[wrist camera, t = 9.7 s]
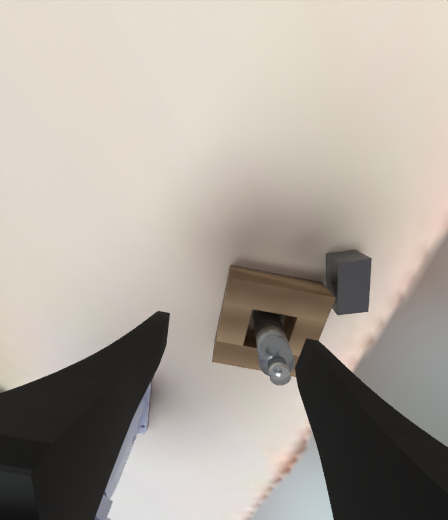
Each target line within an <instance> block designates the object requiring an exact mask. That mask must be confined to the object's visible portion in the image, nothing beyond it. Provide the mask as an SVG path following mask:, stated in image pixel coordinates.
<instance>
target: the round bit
mask: <svg viewBox="0 0 448 520" xmlns="http://www.w3.org/2000/svg"><path fill="white" fill-rule="evenodd" d="M253 323H254V330H255V337H256V344H257V351H258V358H259V365H260V369H261V370H262V371H263V372H264V373H265V374H266V375H268V376H270V380H271V382H272V383H274V384H276V385H284V384H287V383H288V382H289V381H290V379H291V375H290V372H291V371H292V370H293V368H294V366H295V360H294V357H293V354H292V351H291V348H290V346H289V343H288V340H287V337H286V334H285V331H284V329H283V326H282V323H281V320H280V317H279V314H277V313H271V312H266V311H260V310H255V311H254V313H253Z"/></svg>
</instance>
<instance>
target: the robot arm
mask: <svg viewBox="0 0 448 520" xmlns="http://www.w3.org/2000/svg"><path fill="white" fill-rule="evenodd" d="M169 316H170V313H166V312H161V311H158V312H156V313H155V314H153V315H152V316H151V317H149V318H148V319H147V320H145V321H144V322H143V323H141V324H140V325H139V326H137V327H136V328H135V329H133V330H132V331H130V332H129V333H127V334H126V335H125V336H123V337H121V338H120V339H118V340H117V341H115V342H114V343H112V344H110V345H109V346H107V347H105V348H104V349H102V350H100V351H99V352H97V353H95V354H93V355H91V356H89V357H87V358H85V359H83V360H81V361H79V362H77V363H75V364H73V365H71V366H68V367H66V368H64V369H62V370H60V371H58V372H55V373H53V374H50V375H48V376H46V377H43V378H41V379H38V380H36V381H33V382H30V383H28V384H25V385H23V386H20V387H17V388H14V389H11V390H8V391H5V392H2V393H0V520H110V519H109V518H107V515H108V513H109V510H110V508H111V505H112V501H111V500H110V498H111V496H112V494H113V493H114V491H115V489H116V487H117V484H118V482H119V479H120V477H121V474H122V472H123V469H124V467H125V464H126V462H127V459H128V456H129V454H130V451H131V449H132V446H133V444H134V441H135V439H136V436H137V434H138V433H141V434H144V433H146V431H147V424H148V413H149V401H150V390H151V380H152V378H153V376H154V374H155V372H156V370H157V368H158V366H159V364H160V361H161V358H162V356H163V353H164V350H165V347H166V343H167V334H168V325H169ZM295 373H296V378H297V383H298V388H299V392H300V395H301V398H302V401H303V404H304V407H305V410H306V413H307V416H308V419H309V423H310V426H311V429H312V432H313V435H314V438H315V441H316V444H317V448H318V451H319V455H320V459H321V463H322V467H323V472H324V476H325V480H326V485H327V490H328V494H329V499H330V504H331V508H332V513H333V518H334V520H448V447H447V446H445V445H444V444H442V443H440V442H439V441H438V440H436V439H435V438H433V437H432V436H431V435H429V434H428V433H426V432H425V431H424V430H422V429H421V428H419V427H418V426H416V425H415V424H414V423H412V422H411V421H410V420H408V419H407V418H405V417H404V416H403V415H402V414H400V413H399V412H398V411H397V410H395V409H394V408H393V407H392V406H390V405H389V404H388V403H386V402H385V401H384V400H383V399H381V398H380V397H379V396H378V395H377V394H376V393H375V392H373V391H372V390H371V389H370V388H369V387H368V386H366V385H365V384H364V383H363V382H362V381H361V380H360V379H359V378H358V377H356V376H355V375H354V374H353V373H352V372H351V371H350V370H349V369H348V368H347V367H346V366H345V365H344V364H343V363H342V362H341V361H339V360H338V359H337V358H336V357H335V356H334V355H333V354H332V353H331V352H330V351H329V350H328V349H327V348H326V347H325V346H324V345H323V344H321V343H320V342H319V341H318V340H313V339H308V338H306V340H305V343H304V345H303V348H302V350H301V353H300V356H299V358H298V361H297V364H296V366H295Z"/></svg>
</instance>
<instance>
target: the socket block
mask: <svg viewBox="0 0 448 520" xmlns="http://www.w3.org/2000/svg"><path fill="white" fill-rule="evenodd" d="M335 298H336V297H335V296H334V295H333V294H332V293H331V292H330V291H329V290H328V289H327V288H326V287H325V286H324V284H323V283H322V282H317V281H312V280H306V279H301V278H296V277H290V276H285V275H280V274H274V273H269V272H264V271H258V270H253V269H248V268H242V267H237V266H232V265H230V269H229V274H228V279H227V284H226V288H225V293H224V298H223V303H222V308H221V313H220V318H219V322H218V327H217V332H216V337H215V343H214V351H213V358H212V362H216V363H222V364H227V365H233V366H238V367H244V368H250V369H255V370H261V369H260V365H259V358H258V351H257V344H256V337H255V330H254V323H253V313H254V311H255V310H260V311H266V312H271V313H277V314H279V317H280V320H281V323H282V326H283V329H284V331H285V334H286V337H287V340H288V343H289V346H290V348H291V351H292V354H293V357H294V360H295V366H296V364H297V361H298V358H299V356H300V353H301V350H302V348H303V345H304V343H305V340H306V338H308V339H313V340H319V338H320V335H321V333H322V330H323V328H324V326H325V323H326V321H327V318H328V316H329V313H330V311H331V308H332V306H333V303H334V301H335ZM295 366H294V368H293V370H292V371H291V372H290V375H291V376H294V377H296V373H295ZM261 371H262V370H261Z"/></svg>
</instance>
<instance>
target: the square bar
mask: <svg viewBox="0 0 448 520" xmlns="http://www.w3.org/2000/svg"><path fill="white" fill-rule="evenodd" d="M371 259H372V258H370V257H368V256H366V255H364V254H362V253H360V252H358V251H356V250H351V251H344V252H337V253H330V254H326V288H327V289H328V290H329V291H330V292H331V293H332V294H333V295H334V296H335V297H336V298H335V301H334V303H333V306H332V309H333V310H334V311H335V313H336V314H337V315H343V314H352V313H361V312H368V307H369V291H370V275H371Z"/></svg>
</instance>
